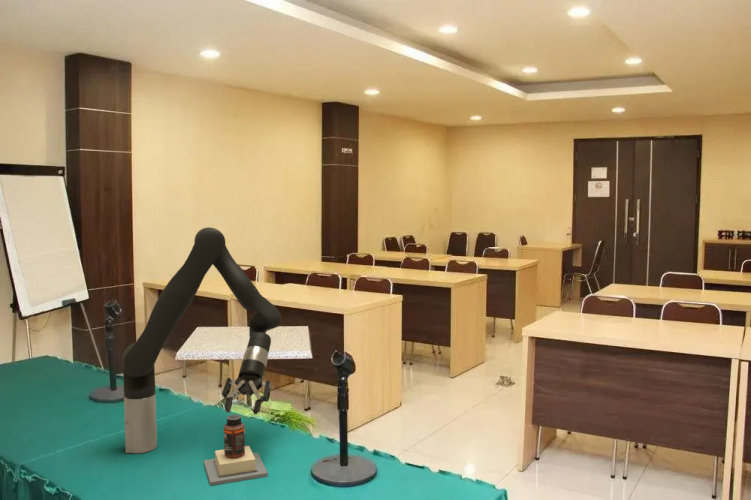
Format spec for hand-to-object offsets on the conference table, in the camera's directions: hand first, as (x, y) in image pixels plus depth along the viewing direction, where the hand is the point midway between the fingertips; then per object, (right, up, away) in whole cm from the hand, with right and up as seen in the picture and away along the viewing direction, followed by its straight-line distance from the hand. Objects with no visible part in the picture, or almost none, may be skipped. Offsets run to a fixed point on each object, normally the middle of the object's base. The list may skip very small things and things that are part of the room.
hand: (241, 412), depth 188 cm
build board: (-1, -16, -4) cm, 16 cm away
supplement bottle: (-1, -11, -4) cm, 12 cm away
